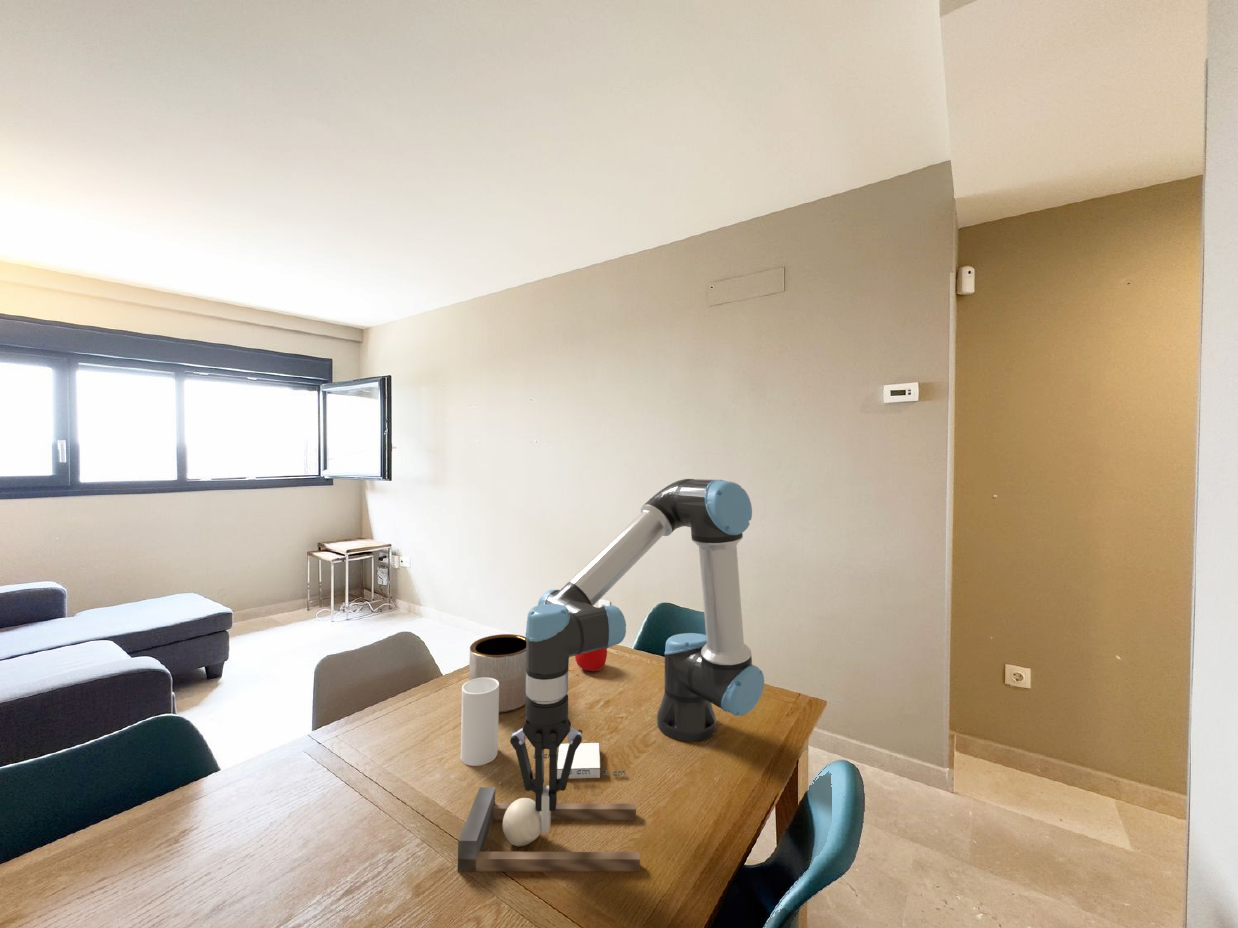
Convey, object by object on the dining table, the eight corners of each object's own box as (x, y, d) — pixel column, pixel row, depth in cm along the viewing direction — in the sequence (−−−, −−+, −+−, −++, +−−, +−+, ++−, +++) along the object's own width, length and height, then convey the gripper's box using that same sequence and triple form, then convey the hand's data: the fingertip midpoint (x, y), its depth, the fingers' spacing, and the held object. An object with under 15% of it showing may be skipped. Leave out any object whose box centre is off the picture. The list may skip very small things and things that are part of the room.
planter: (545, 695, 138) (546, 641, 138) (499, 722, 123) (500, 662, 123) (501, 679, 148) (502, 629, 148) (454, 703, 133) (455, 647, 133)
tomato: (594, 678, 150) (595, 644, 150) (568, 670, 156) (569, 637, 156) (613, 667, 159) (613, 634, 159) (587, 659, 164) (588, 628, 164)
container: (622, 751, 112) (622, 740, 112) (626, 784, 101) (626, 771, 101) (535, 754, 111) (535, 742, 111) (529, 787, 99) (529, 774, 99)
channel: (635, 813, 92) (635, 787, 92) (639, 871, 79) (640, 840, 79) (479, 813, 91) (479, 787, 91) (457, 870, 78) (458, 840, 78)
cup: (487, 768, 105) (488, 695, 105) (453, 762, 106) (454, 691, 106) (503, 746, 113) (505, 679, 113) (471, 742, 114) (473, 675, 115)
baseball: (520, 864, 80) (520, 824, 80) (495, 841, 85) (495, 803, 85) (551, 839, 85) (551, 802, 85) (526, 819, 90) (526, 784, 90)
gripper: (584, 684, 89) (583, 811, 89) (515, 684, 89) (513, 812, 88) (582, 704, 81) (580, 843, 81) (506, 704, 81) (505, 844, 81)
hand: (545, 827), depth 85 cm, fingers closed
